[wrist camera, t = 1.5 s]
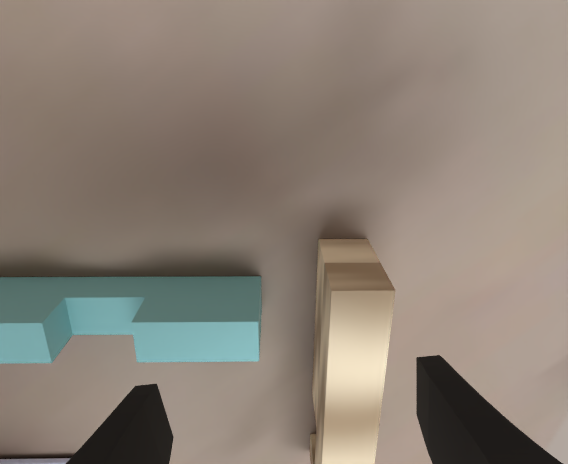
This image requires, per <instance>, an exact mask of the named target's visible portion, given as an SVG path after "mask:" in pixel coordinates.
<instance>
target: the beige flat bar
mask: <svg viewBox="0 0 568 464" xmlns="http://www.w3.org/2000/svg"><path fill="white" fill-rule="evenodd" d="M394 298H395V289H394V287H393V285H392V283H391V281H390V280H389V278H388V276H387V274H386V272H385V270H384V269H383V267H382V265H381V263H380V261H379V259H378V257H377V256H376V254H375V252H374V250H373V248H372V246H371V244H370V243H369V241H368V239H318V261H317V285H316V309H315V334H314V358H313V382H312V395H313V404H314V412H315V421H316V434H310V460H311V464H374V463H375V455H376V446H377V438H378V430H379V422H380V413H381V405H382V397H383V389H384V380H385V372H386V364H387V356H388V347H389V339H390V331H391V323H392V314H393V306H394Z"/></svg>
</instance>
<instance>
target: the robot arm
mask: <svg viewBox="0 0 568 464" xmlns="http://www.w3.org/2000/svg"><path fill="white" fill-rule="evenodd" d="M417 417H418V420H419V424H420V427H421V431H422V434H423V437H424V441H425V444H426V447H427V450H428V453H429V456H430V458H431V461H432V463H433V464H562V463H561V462H560V461H558V460H557V459H556V458H554V457H553V456H552V455H550V454H549V453H548V452H546V451H545V450H544V449H543V448H541V447H540V446H539V445H538V444H536V443H535V442H534V441H533V440H531V439H530V438H529V437H528V436H527V435H525V434H524V433H523V432H522V431H520V430H519V429H518V428H517V427H516V426H515V425H513V424H512V423H511V422H510V421H509V420H508V419H506V418H505V417H504V416H503V415H502V414H501V413H500V412H499V411H497V410H496V409H495V408H494V407H493V406H492V405H491V404H490V403H489V402H487V401H486V400H485V399H484V398H483V397H482V396H481V395H480V394H479V393H478V392H477V391H476V390H475V389H474V388H473V387H472V386H470V385H469V384H468V383H467V382H466V381H465V380H464V379H463V378H462V377H461V376H460V375H459V374H458V373H457V372H456V371H455V370H454V369H453V368H452V367H451V366H450V365H449V364H448V363H447V362H446V361H445V360H444V359H443V358H442V357H441V356H440V355H437V356H427V357H417ZM172 443H173V434H172V431H171V428H170V425H169V421H168V418H167V415H166V412H165V409H164V405H163V402H162V399H161V396H160V392H159V389H158V386H157V384H150V385H140V386H135V387H134V388H133V389H132V390H131V392H130V393H129V394H128V395H127V396H126V397H125V398H124V399H123V401H122V402H121V403H120V404H119V405H118V406H117V408H116V409H115V410H114V411H113V412H112V413H111V414H110V416H109V417H108V418H107V419H106V420H105V421H104V422H103V424H102V425H101V426H100V427H99V428H98V429H97V430H96V431H95V433H94V434H93V435H92V436H91V437H90V438H89V439H88V440H87V441H86V443H85V444H84V445H83V446H82V447H81V448H80V449H79V450H78V451H77V452H76V453H75V454H74V455H73V457H72V458H49V459H0V464H169V461H170V455H171V449H172Z"/></svg>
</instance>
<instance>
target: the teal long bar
mask: <svg viewBox="0 0 568 464" xmlns="http://www.w3.org/2000/svg"><path fill="white" fill-rule="evenodd" d="M261 313H262V302H261V276H201V277H0V363H52V362H53V361H54V359H55V358H56V357H57V355H58V354H59V353H60V351H61V350H62V349H63V347H64V346H65V345H66V343H67V342H68V341H69V339H70V338H71V337H72V335H123V334H133V338H134V345H135V351H136V358H137V362H233V361H259V353H260V333H261Z"/></svg>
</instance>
